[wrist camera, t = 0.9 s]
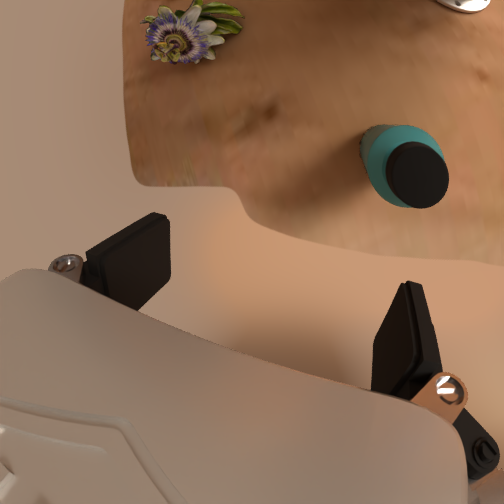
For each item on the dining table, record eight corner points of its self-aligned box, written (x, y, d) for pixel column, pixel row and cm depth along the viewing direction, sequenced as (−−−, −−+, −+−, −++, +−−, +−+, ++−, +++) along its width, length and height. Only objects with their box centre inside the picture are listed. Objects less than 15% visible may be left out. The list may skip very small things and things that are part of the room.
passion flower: (215, 63, 38) (142, 79, 33) (203, 4, 32) (129, 14, 27) (261, 50, 30) (172, 62, 25) (246, -20, 24) (156, -19, 19)
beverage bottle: (350, 132, 32) (350, 142, 15) (398, 116, 29) (451, 111, 12) (369, 181, 34) (384, 243, 17) (416, 166, 31) (477, 216, 14)
